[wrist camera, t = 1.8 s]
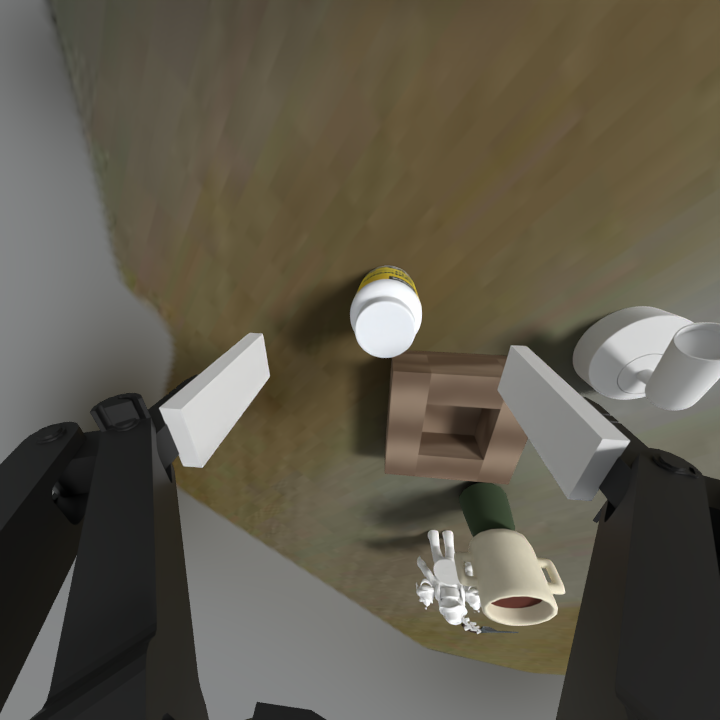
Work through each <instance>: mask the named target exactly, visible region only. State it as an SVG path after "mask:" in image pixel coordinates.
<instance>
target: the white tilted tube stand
mask: <svg viewBox="0 0 720 720" xmlns="http://www.w3.org/2000/svg"><path fill="white" fill-rule="evenodd" d="M573 366H574V369H575V371H576V373H577V374H578V375H579V376H580V377H581V378H582V379H583V380H584V381H585V382H587V383H588V384H589V385H590V386H591V387H592V388H594V389H595V390H596V391H597V392H599V393H600V394H602V395H604V396H606V397H609V398H614V399H636V398H641V397H645V396H646V397H647V399H648V400H649V401H650V402H651V403H652V404H653V405H655V406H657V407H659V408H662V409H666V410H682V409H686V408H689V407H691V406H692V405H694V404H695V403H696V402H697V401H698V400H699V399H700V398H701V397H702V396H703V395H704V394H705V393H706V392H707V391H708V390H709V389H710V388H711V387H712V386H713V385H714V383H715V382H716V381H717V380H718V379H719V378H720V324H719V323H711V322H701V323H693V322H691V321H690V320H688V319H686V318H683V317H680V316H677V315H675V314H672V313H669V312H666V311H663V310H660V309H658V308H654V307H648V306H637V307H630V308H626V309H622V310H619V311H616V312H614V313H611V314H609V315H607V316H606V317H604V318H602V319H600V320H599V321H598V322H596V323H595V324H594V325H592V326H591V327H590V328H589V329H588V330H587V331H586V332H585V333H584V334H583V336H582V337H581V338H580V340H579V341H578V343H577V345H576V347H575V350H574V353H573Z"/></svg>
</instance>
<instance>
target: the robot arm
mask: <svg viewBox="0 0 720 720" xmlns="http://www.w3.org/2000/svg"><path fill="white" fill-rule="evenodd" d="M269 377H270V374H269V368H268V362H267V356H266V350H265V344H264V338H263V334H261V333H249V334H247V335H246V336H245V337H244V338H243V339H241V340H240V341H239V342H238V343H237V344H235V345H234V346H233V347H232V348H231V349H229V350H228V351H227V352H226V353H225V354H223V355H222V356H221V357H220V358H218V359H217V360H216V361H215V362H214V363H212V364H211V365H210V366H209V367H208V368H206V369H205V370H204V371H203V372H202V373H200V374H199V375H195V376H193V377H191V378H189V379H187V380H185V381H183V382H182V383H181V384H180V385H178V386H177V387H176V389H173V390H172V391H171V392H170V393H169V395H166V396H165V397H163V398H162V399H161V400H160V401H158V402H157V403H156V404H155V405H153V406H152V407H151V408H150V409H147V407H146V405H145V403H144V401H143V399H142V396H141V395H140V394H137V393H126V394H121V395H117V396H114V397H111V398H108V399H106V400H104V401H102V402H100V403H99V404H97V405H96V406H94V407H93V408H92V410H91V411H90V413H91V415H92V416H93V418H94V420H95V422H96V423H97V425H98V427H99V428H100V431H92V432H86V433H83V432H82V430H81V428H80V427H79V425H78V424H77V423H74V422H63V423H59V424H54V425H50V426H47V427H44V428H42V429H40V430H39V431H37V432H35V433H34V434H32V435H30V436H29V437H28V438H26V439H25V440H24V441H23V442H22V443H21V444H20V445H19V446H18V447H17V448H16V449H15V450H14V451H13V452H12V453H11V454H10V455H9V456H8V457H7V458H6V459H5V460H4V461H3V462H2V463H1V464H0V712H1V711H2V708H3V706H4V704H5V702H6V700H7V698H8V696H9V694H10V692H11V690H12V688H13V685H14V684H15V682H16V679H17V677H18V675H19V673H20V671H21V669H22V667H23V665H24V663H25V661H26V659H27V657H28V654H29V652H30V650H31V648H32V646H33V644H34V642H35V640H36V638H37V636H38V634H39V632H40V630H41V628H42V626H43V624H44V622H45V620H46V617H47V615H48V613H49V611H50V609H51V607H52V605H53V603H54V600H55V599H56V597H57V595H58V593H59V590H60V588H61V586H62V584H63V582H64V580H65V578H66V576H67V574H68V572H69V570H70V568H71V566H72V564H73V562H74V560H75V558H76V562H75V567H74V572H73V577H72V582H71V587H70V592H69V597H68V603H67V608H66V612H65V617H64V622H63V627H62V632H61V638H60V642H59V648H58V652H57V657H56V662H55V667H54V672H53V677H52V682H51V687H50V691H49V694H48V698H47V701H46V703H45V704H44V706H43V708H42V709H41V710H40V711H39V712H38V713H37V714H36V715H34V716H33V717H32V718H31V719H30V720H209V719H208V713H207V709H206V704H205V701H204V698H203V695H202V691H201V688H200V683H199V678H198V671H197V662H196V654H195V646H194V636H193V628H192V619H191V610H190V602H189V593H188V584H187V576H186V568H185V558H184V550H183V541H182V533H181V523H180V515H179V506H178V497H177V489H176V480H175V471H174V468H173V465H172V462H173V461H174V459H175V458H176V457H177V456H178V455H179V457H180V459H181V462H182V464H183V466H189V467H201V468H203V466H204V465H205V464H206V462H207V461H208V460H209V458H210V457H211V456H212V454H213V453H214V452H215V450H216V449H217V448H218V446H219V445H220V443H221V442H222V441H223V439H224V438H225V437H226V435H227V434H228V433H229V431H230V430H231V429H232V427H233V426H234V425H235V423H236V422H237V420H238V419H239V418H240V416H241V415H242V414H243V412H244V411H245V410H246V408H247V407H248V406H249V404H250V403H251V402H252V400H253V399H254V398H255V396H256V395H257V393H258V392H259V391H260V389H261V388H262V387H263V385H264V384H265V383H266V381H267V380H268V379H269ZM498 392H499V393H500V395H501V396H502V398H503V400H504V401H505V403H506V404H507V406H508V407H509V409H510V410H511V412H512V413H513V415H514V417H515V418H516V420H517V421H518V423H519V424H520V426H521V427H522V429H523V431H524V432H525V434H526V435H527V437H528V438H529V440H530V441H531V443H532V444H533V446H534V448H535V449H536V451H537V452H538V454H539V455H540V457H541V458H542V460H543V462H544V463H545V465H546V466H547V468H548V469H549V471H550V472H551V474H552V475H553V477H554V479H555V480H556V482H557V483H558V485H559V486H560V488H561V489H562V491H563V493H564V494H565V496H566V497H567V499H574V500H585V501H592V499H593V498H594V496H595V495H596V493H597V492H598V490H599V489H600V490H601V491H602V493H603V494H604V495H605V496H606V498H607V501H606V502H605V504H604V505H603V507H602V508H601V509H600V511H599V512H598V514H597V515H596V517H595V518H594V520H593V521H594V522H596V523H597V522H598V521H599V525H598V530H597V534H596V539H595V543H594V548H593V552H592V557H591V561H590V566H589V571H588V575H587V580H586V584H585V589H584V593H583V598H582V603H581V607H580V612H579V616H578V621H577V625H576V630H575V634H574V639H573V644H572V648H571V653H570V657H569V662H568V666H567V671H566V676H565V681H564V685H563V689H562V694H561V699H560V703H559V707H558V712H557V717H556V720H720V480H718V479H714V478H710V477H707V476H703V475H702V473H701V472H700V471H699V470H698V469H697V468H695V467H694V466H693V465H692V464H690V463H689V462H687V461H685V460H684V459H682V458H680V457H678V456H676V455H674V454H671V453H669V452H666V451H663V450H659V449H653V448H648V447H647V446H646V445H645V444H644V443H642V442H641V441H640V440H639V439H638V438H637V437H636V436H634V435H633V434H632V433H631V432H630V431H629V430H628V429H626V428H625V427H624V426H623V425H622V424H621V423H618V421H617V420H616V419H615V418H614V417H613V416H610V414H609V413H608V412H607V411H606V410H605V409H604V408H602V407H601V406H600V405H599V404H597V403H595V402H593V401H592V400H590V399H588V398H586V397H582V396H581V395H580V394H579V393H577V392H576V391H575V390H574V389H573V388H572V387H571V386H570V385H569V384H568V383H566V382H565V381H564V380H563V379H562V378H561V377H560V376H559V375H558V374H557V373H555V372H554V371H553V370H552V369H551V368H550V367H549V366H548V365H547V364H546V363H545V362H543V361H542V360H541V359H540V358H539V357H538V356H537V355H536V354H535V353H534V352H532V351H531V350H530V349H529V348H528V347H527V346H515V345H511V347H510V350H509V353H508V357H507V360H506V363H505V367H504V370H503V373H502V376H501V380H500V383H499V386H498ZM52 490H53V491H54V494H53V495H52ZM76 555H77V557H76ZM246 720H326V719H324V718H323V717H321V716H320V715H318V714H316V713H315V712H313V711H312V710H307V709H300V708H294V707H287V706H280V705H273V704H267V703H260V702H257V704H256V707H255V711H254V715H253V718H250V719H246Z"/></svg>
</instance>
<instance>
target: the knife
mask: <svg viewBox="0 0 720 720" xmlns="http://www.w3.org/2000/svg"><path fill="white" fill-rule="evenodd" d="M462 626H463V628H464V627H465V626H466V625H465V624H464V623H463V624H462ZM472 628H473V627H472ZM479 630H481V633H487V632H495V633H519V632H508V631H496V630H494V629H492V628H490V627H485V626H483V627H482V628H481V629H479ZM468 631H470V632H473V633H477V632H478V630H477V631H471V629H469V630H468Z"/></svg>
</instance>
